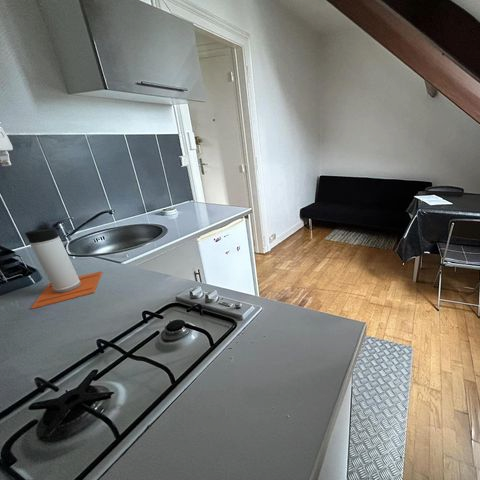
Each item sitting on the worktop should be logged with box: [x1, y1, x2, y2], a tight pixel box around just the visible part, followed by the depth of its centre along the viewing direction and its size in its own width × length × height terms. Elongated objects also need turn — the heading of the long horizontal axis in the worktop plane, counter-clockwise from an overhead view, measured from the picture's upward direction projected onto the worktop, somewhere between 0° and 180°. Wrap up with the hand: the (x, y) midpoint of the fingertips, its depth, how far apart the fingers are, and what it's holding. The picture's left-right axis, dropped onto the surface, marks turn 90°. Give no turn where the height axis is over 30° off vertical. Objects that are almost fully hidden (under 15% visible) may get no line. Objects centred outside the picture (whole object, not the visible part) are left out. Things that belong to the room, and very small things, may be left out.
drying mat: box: [30, 270, 103, 310], centre depth 82 cm, size 14×16×1 cm
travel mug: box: [24, 227, 81, 293], centre depth 78 cm, size 6×7×20 cm
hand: (0, 167), depth 80 cm, fingers open, 8 cm apart
